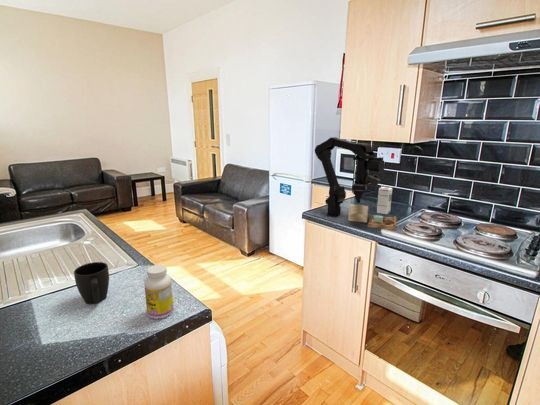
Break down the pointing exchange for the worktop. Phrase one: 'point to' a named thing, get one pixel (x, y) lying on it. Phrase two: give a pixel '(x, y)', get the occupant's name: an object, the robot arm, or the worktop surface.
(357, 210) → the birch board
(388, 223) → the small walnut offcut
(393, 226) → the rack
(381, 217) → the teal offcut
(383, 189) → the syrup box
